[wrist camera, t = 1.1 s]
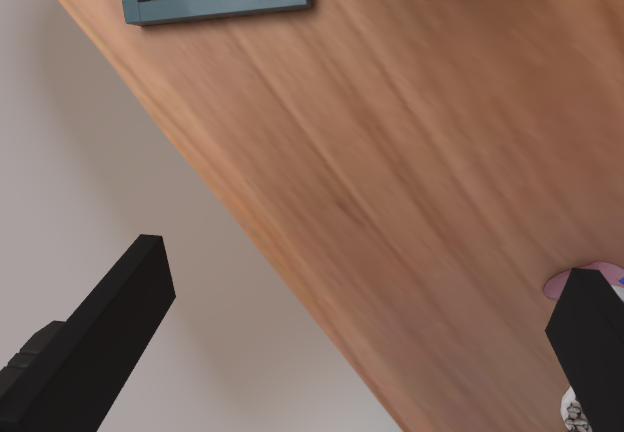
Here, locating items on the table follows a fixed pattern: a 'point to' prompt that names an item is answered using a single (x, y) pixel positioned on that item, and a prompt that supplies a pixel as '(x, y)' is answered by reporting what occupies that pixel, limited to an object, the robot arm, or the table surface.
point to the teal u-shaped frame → (202, 9)
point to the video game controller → (616, 276)
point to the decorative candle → (573, 413)
